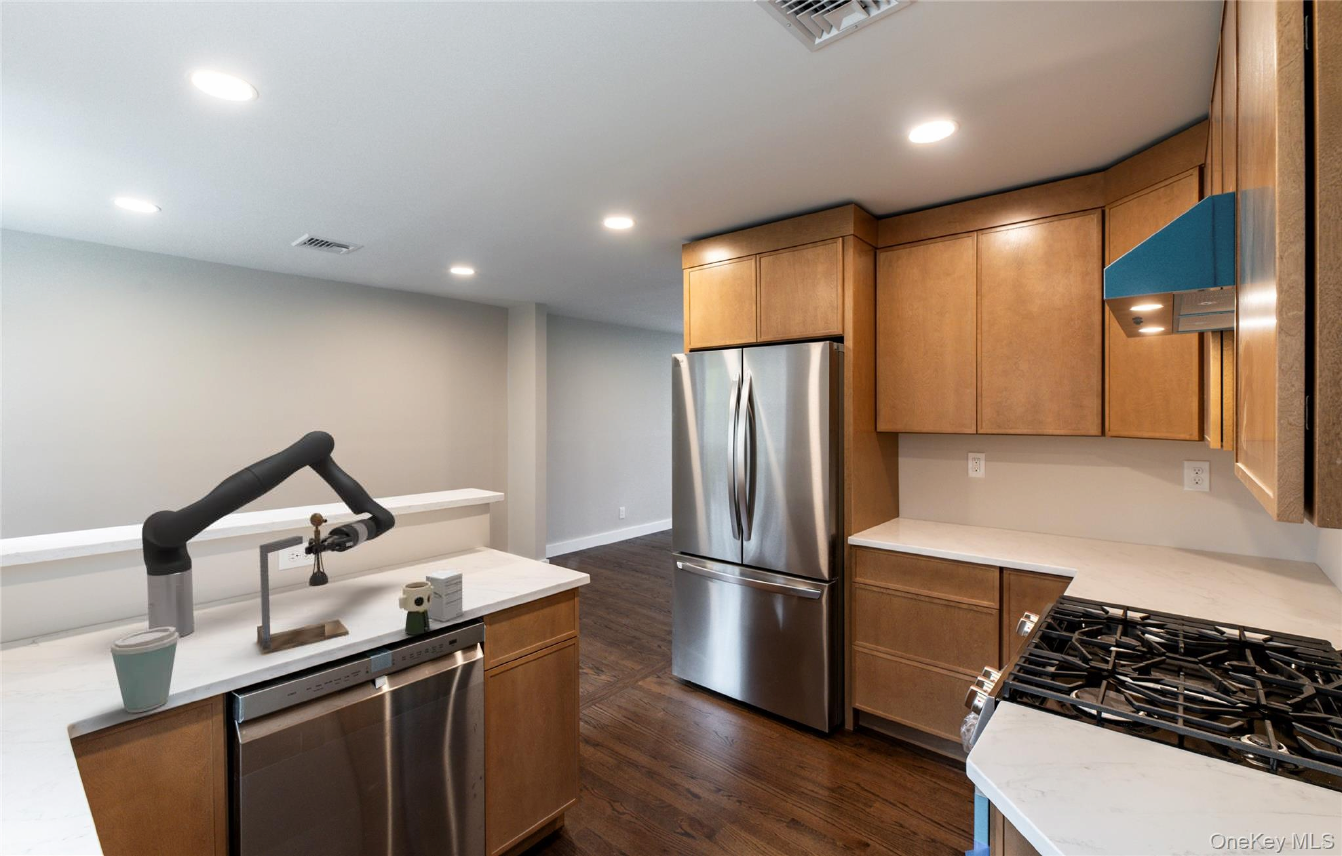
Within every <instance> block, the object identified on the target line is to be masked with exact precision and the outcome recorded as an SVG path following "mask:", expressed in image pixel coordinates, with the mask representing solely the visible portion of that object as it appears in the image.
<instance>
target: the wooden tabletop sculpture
mask: <svg viewBox="0 0 1342 856" xmlns="http://www.w3.org/2000/svg"><path fill="white" fill-rule="evenodd" d="M309 523H310V525H311V526H313V527H315V529H314V530H313V535H314V537H313V538H314V542H315V546H317V545H320V544H321V529H319V527H321V526H322V525H323V524H327V523H328V519H325V518H324V517H323V515H322V514H321V513H320V512H314V513H312V514H311V516H310V517H309ZM312 569H313V570H312V574H311V576H310V577H309V581H308V586H309V587H319V586H325V585H327V584H329V576H328V575H327V573H326V572H325V568H324V565H323V556H322V553H319V554H317V555H314V561H313V568H312ZM321 569H322V570H321ZM315 570H316V571H315Z"/></svg>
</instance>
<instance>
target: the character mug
mask: <svg viewBox="0 0 1342 856" xmlns="http://www.w3.org/2000/svg"><path fill="white" fill-rule="evenodd" d="M433 597H434V587H433V586H431V584H430V582H427V581H426V580H417V581H410V582H408V583H405V584H403V585H402V595H401V596H399V598H398V606H399V609H401V610H404V611H407V612H406V618H405V629H404V632H406V633H407V634H410V635H419V634H423V633H425V629H426V632H429V630H431V629H430V628H431V625H430V618H429V617H428V611H427V608H429V607H430V605H431V602H432V599H431V598H433Z"/></svg>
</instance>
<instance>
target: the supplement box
mask: <svg viewBox="0 0 1342 856" xmlns="http://www.w3.org/2000/svg"><path fill="white" fill-rule="evenodd" d="M425 581H427V582H430V584H431V586H433V587H434V597H433V598H431V599H432V602H431V605H430V607H429V608H427V611H428V617H429V619H432V620H435V621H440V622H443V623H445V622H446V621H449V620H452V619H455V618H458V617H459V616H462V615H463V572H459V571H454V570H450V569H442V570H439V571H435V572H432V573H430V574H426V575H425Z"/></svg>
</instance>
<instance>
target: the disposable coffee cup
mask: <svg viewBox="0 0 1342 856" xmlns="http://www.w3.org/2000/svg"><path fill="white" fill-rule="evenodd" d="M180 638H181V637H179V633H178V632H176V628H175V627H161V628H155V629H150V630H149V629H145V630H141V631H139V632H135V633H131V634H127V635H125V636H124V637H121V638H119V639H117V640H116V641H115V642H114V643H113V644H112V645H111V647H110V653H111V656H112V660H113V664H114V669H115V673H116V676H117V682H118V685H119V691H120V694H121V698H122V703H123V706H124V708H125V709H126V712H128V713H132V714H133V713H142V712H148V711H151V710H154V709H157V708H159V707H161V706H162V705H165V704H166V703H167V701H168V698H169V696H170V690H171V683H172V677H173V670H174V663H175V657H176V650H177V646H178V641H179V640H180Z"/></svg>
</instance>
